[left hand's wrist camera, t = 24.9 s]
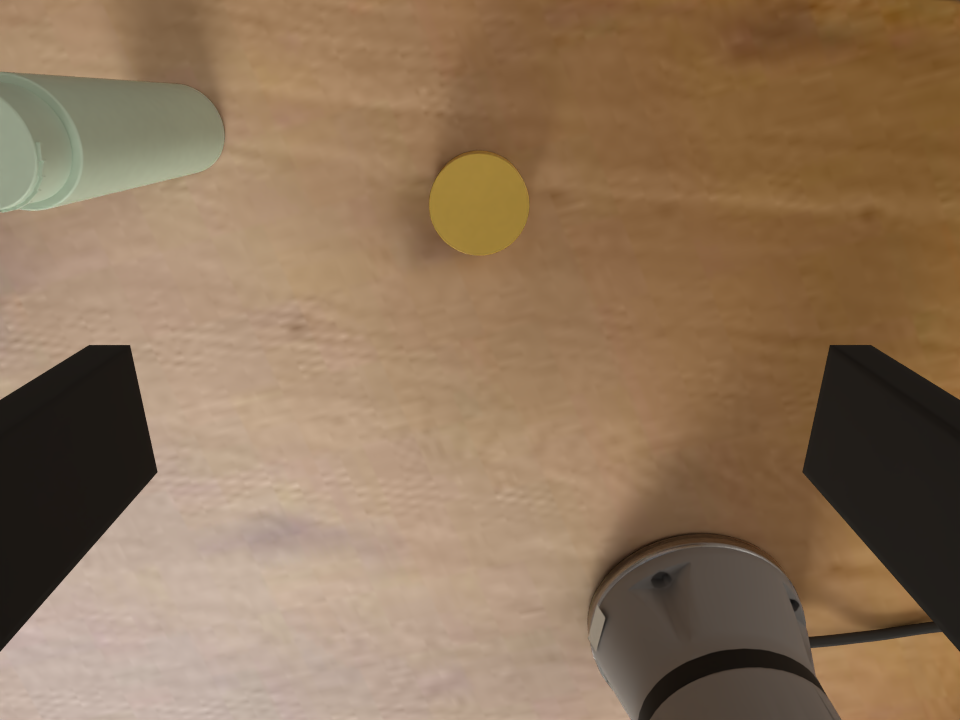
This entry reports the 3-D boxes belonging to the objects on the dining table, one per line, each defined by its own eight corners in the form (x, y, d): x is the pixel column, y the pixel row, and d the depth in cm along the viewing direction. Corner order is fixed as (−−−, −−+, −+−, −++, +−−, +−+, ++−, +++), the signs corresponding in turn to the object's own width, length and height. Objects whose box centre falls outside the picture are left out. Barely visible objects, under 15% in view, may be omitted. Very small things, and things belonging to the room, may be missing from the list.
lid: (539, 168, 36) (543, 172, 34) (508, 258, 38) (510, 268, 36) (447, 137, 35) (445, 139, 33) (420, 230, 37) (417, 238, 35)
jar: (145, 170, 36) (-83, 216, 21) (133, 80, 34) (-122, 63, 20) (228, 176, 36) (58, 224, 22) (221, 86, 34) (31, 73, 20)
